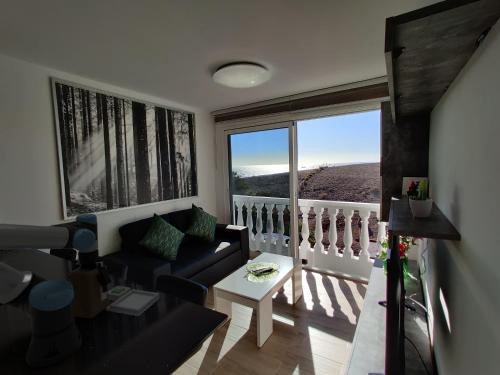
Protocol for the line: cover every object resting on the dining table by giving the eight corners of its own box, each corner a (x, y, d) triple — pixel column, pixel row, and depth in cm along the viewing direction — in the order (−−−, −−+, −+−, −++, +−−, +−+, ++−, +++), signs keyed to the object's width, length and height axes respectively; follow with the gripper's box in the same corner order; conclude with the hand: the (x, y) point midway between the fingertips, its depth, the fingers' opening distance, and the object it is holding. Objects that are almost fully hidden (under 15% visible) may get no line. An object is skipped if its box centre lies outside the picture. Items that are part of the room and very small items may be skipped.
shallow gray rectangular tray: (138, 316, 107) (138, 310, 107) (105, 310, 111) (105, 304, 111) (159, 298, 122) (159, 293, 122) (129, 293, 126) (129, 288, 126)
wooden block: (91, 320, 104) (89, 273, 103) (71, 316, 106) (68, 271, 105) (109, 307, 114) (107, 264, 112) (90, 304, 116) (88, 262, 114)
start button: (118, 297, 121) (118, 290, 120) (111, 296, 122) (111, 289, 121) (124, 293, 125) (124, 286, 124) (117, 292, 126) (117, 285, 125)
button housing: (119, 301, 118) (119, 295, 118) (105, 299, 120) (104, 293, 120) (131, 293, 126) (130, 287, 126) (117, 291, 128) (117, 285, 128)
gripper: (119, 249, 108) (121, 296, 110) (73, 244, 114) (75, 289, 116) (105, 255, 101) (107, 305, 103) (56, 250, 107) (59, 297, 109)
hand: (90, 297), depth 110 cm, fingers open, 13 cm apart
